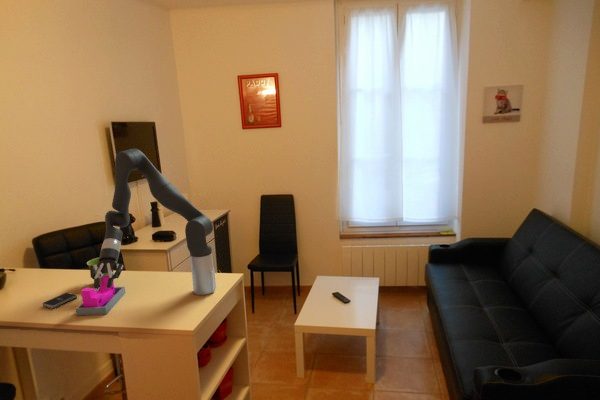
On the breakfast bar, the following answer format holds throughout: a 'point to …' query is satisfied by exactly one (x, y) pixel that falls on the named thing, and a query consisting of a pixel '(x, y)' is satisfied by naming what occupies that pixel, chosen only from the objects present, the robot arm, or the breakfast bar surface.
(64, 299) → the external hard drive
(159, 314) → the breakfast bar surface
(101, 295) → the toy block
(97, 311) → the tray
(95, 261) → the plant pot
